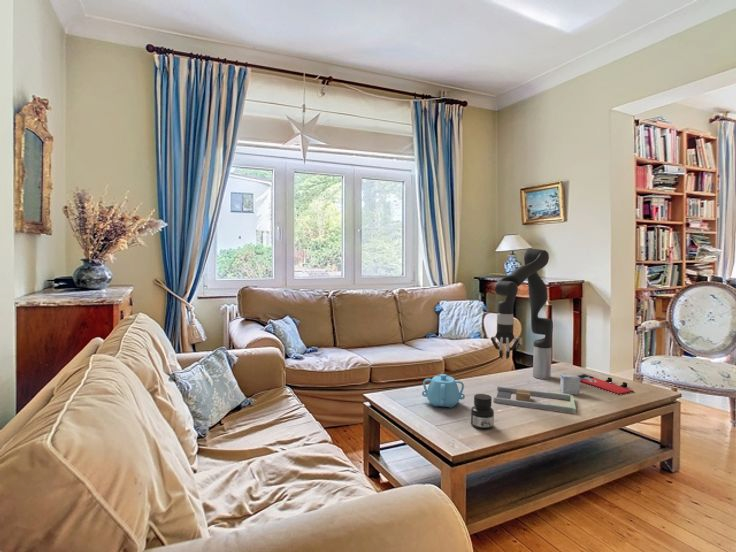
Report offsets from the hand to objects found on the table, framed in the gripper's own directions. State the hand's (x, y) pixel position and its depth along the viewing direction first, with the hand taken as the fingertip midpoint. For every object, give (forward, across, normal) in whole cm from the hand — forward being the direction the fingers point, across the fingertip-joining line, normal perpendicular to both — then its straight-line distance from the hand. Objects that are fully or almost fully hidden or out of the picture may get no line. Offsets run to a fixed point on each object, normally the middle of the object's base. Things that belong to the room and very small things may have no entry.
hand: (504, 358), depth 200 cm
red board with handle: (+20, -46, -41) cm, 65 cm away
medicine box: (+19, -30, -19) cm, 40 cm away
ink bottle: (+19, +5, +38) cm, 43 cm away
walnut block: (+19, -9, 0) cm, 21 cm away
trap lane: (+19, -13, 0) cm, 23 cm away
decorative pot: (+19, +25, +20) cm, 37 cm away
